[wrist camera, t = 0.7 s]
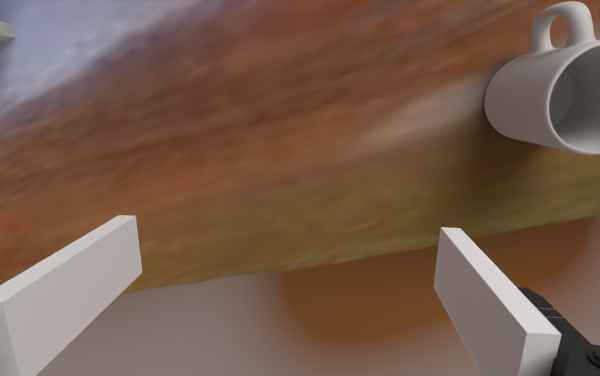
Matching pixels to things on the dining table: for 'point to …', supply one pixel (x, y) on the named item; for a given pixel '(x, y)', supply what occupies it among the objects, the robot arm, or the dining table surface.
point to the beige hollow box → (6, 31)
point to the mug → (551, 86)
